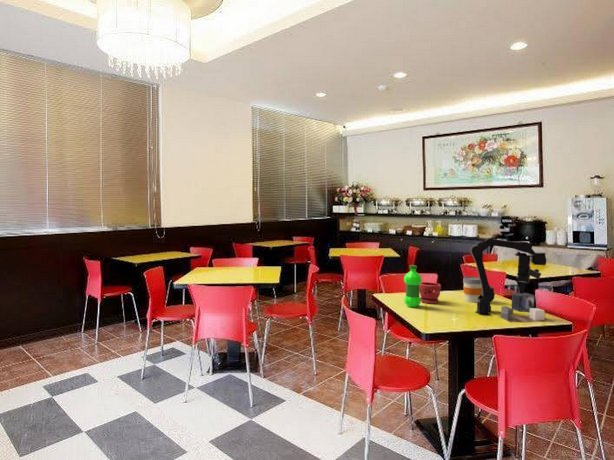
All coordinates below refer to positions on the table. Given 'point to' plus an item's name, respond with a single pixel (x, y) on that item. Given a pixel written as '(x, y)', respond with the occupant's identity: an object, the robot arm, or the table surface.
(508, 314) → the walnut strip
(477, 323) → the table surface
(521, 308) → the small box
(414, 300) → the plastic bottle
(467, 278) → the reusable coffee cup
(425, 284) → the plant pot
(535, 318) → the off-white block
